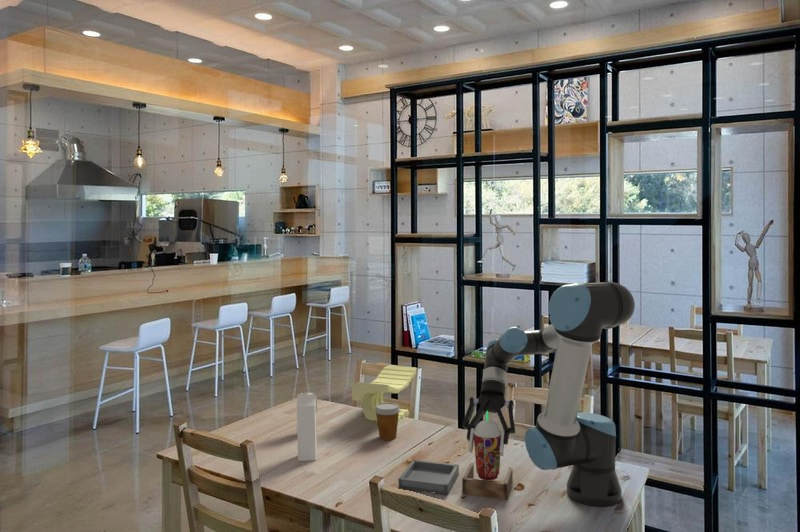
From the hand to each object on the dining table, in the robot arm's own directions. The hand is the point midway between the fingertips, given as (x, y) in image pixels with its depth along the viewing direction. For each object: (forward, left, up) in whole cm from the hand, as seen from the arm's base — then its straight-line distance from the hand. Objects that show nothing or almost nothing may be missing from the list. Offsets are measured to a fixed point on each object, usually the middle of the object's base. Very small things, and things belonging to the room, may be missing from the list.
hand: (485, 452), depth 169 cm
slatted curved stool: (+52, -57, -12) cm, 78 cm away
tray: (+18, -2, -12) cm, 21 cm away
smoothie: (0, -3, -9) cm, 10 cm away
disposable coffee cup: (+43, -34, -12) cm, 56 cm away
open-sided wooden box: (0, -3, -12) cm, 12 cm away
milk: (+63, -8, -12) cm, 64 cm away
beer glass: (+74, -30, -12) cm, 81 cm away
